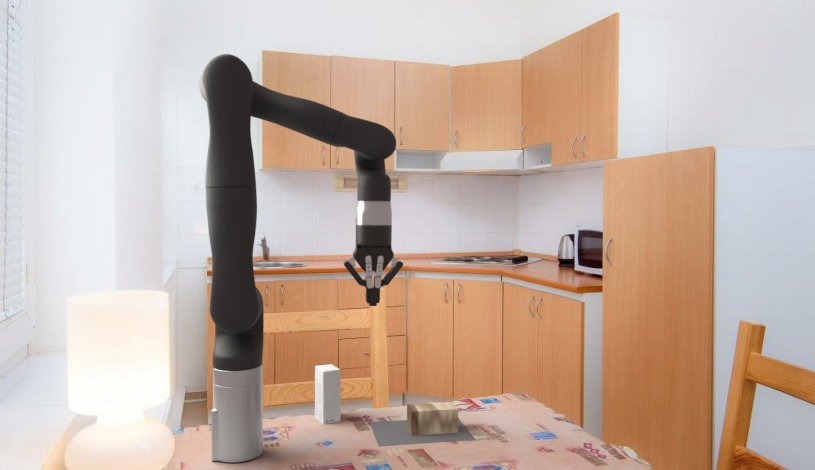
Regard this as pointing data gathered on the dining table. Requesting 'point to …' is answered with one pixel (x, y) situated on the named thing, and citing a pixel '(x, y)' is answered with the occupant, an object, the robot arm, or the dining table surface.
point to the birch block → (432, 418)
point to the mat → (400, 435)
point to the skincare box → (327, 394)
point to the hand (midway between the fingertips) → (372, 305)
